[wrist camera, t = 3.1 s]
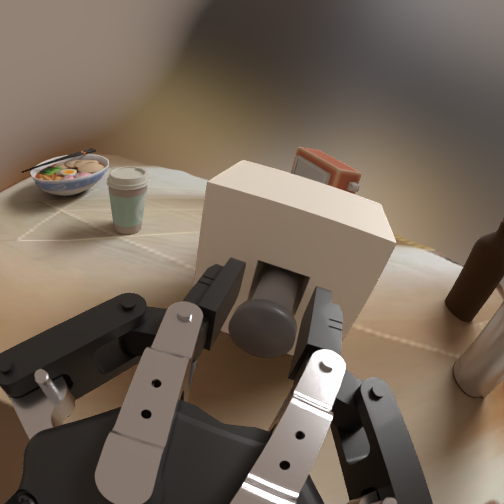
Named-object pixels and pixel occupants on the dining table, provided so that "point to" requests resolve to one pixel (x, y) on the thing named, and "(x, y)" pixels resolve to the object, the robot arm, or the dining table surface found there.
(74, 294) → the dining table surface
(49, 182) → the ramen bowl
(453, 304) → the olive oil
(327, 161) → the orange radio
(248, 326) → the knob
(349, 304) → the knob mount
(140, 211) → the coffee cup
